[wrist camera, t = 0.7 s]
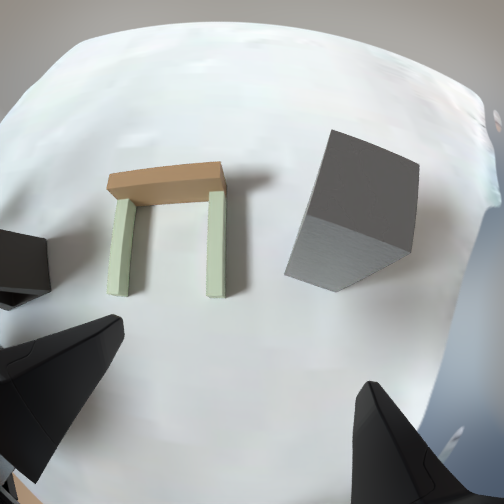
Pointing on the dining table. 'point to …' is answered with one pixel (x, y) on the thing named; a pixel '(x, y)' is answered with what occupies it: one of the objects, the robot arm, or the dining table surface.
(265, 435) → the dining table surface
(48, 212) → the dining table surface
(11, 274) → the phone stand
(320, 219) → the block
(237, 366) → the dining table surface
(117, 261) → the keeper
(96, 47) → the dining table surface
